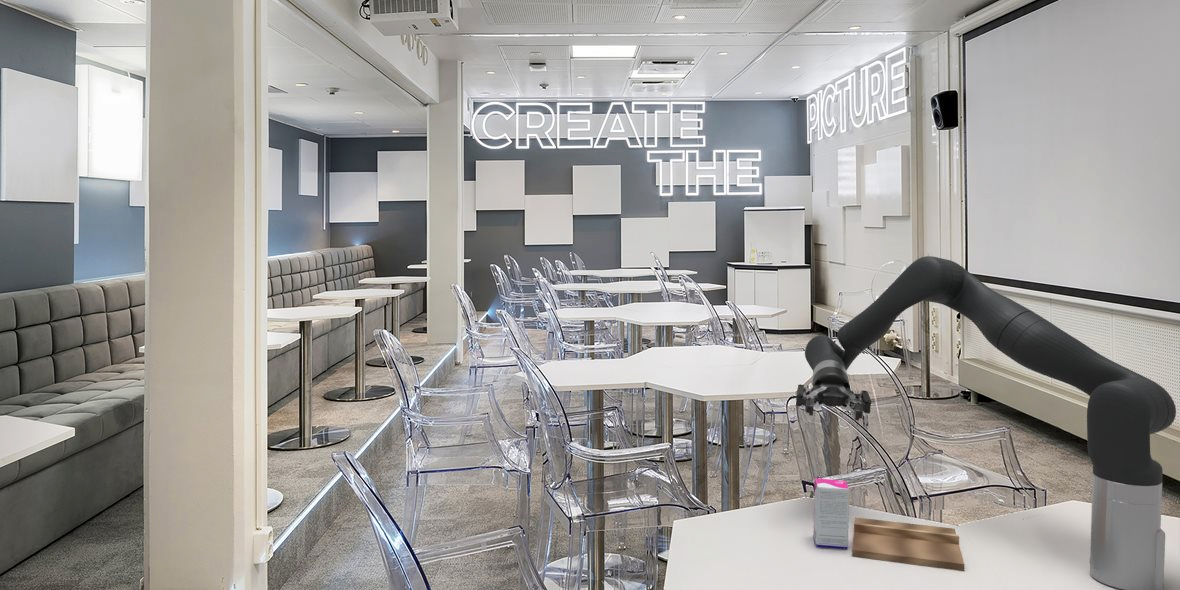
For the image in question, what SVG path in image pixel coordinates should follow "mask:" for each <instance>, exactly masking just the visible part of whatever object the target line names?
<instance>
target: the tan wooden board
mask: <svg viewBox="0 0 1180 590" xmlns="http://www.w3.org/2000/svg"><path fill="white" fill-rule="evenodd" d="M852 539H853V540H852V551H851V553H852V554H851V557H856V558H862V559H871V560H878V561H879V560H880V561H884V562H885V561H886V562H894V563H899V564H900V563H902V564H907V565H917V566H924V567H930V568H939V569H947V570H954V571H962V572H965V561H964V558H963V553H962V551H961V546H960V534H957V533H956V528H952V527H942V526H934V525H925V524H917V523H909V522H901V521H900V522H899V521H891V520H890V521H889V520H882V519H874V518H864V517H854V523H853V538H852Z"/></svg>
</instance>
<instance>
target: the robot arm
mask: <svg viewBox="0 0 1180 590" xmlns="http://www.w3.org/2000/svg"><path fill="white" fill-rule="evenodd" d="M923 301H925V302H928V303H929V302H930V303H934V304H940V305H942V306H945V307H948V308H950V309H952V310H954V311H956V312H957V313H959V314H960V315H962V316H964V317H966V318H967V319H968V320H969V321H971V322H972V323H973V324H974V325H975V326H976V327H977V329H978V330H979V331H980V333H981V334H982V335H983V337H984V338H985V339H986V340H987V341H988V343H990V344H991V345H992V346H993V347H994V348H996V349H997V350H998V351H1000V352H1001V353H1002V354H1004V355H1005V356H1007V357H1008V358H1010V359H1011V360H1012V361H1014V362H1015V363H1016V364H1019V365H1020V366H1022V367H1024V368H1026V369H1028V370H1030V371H1033V372H1035V373H1038V374H1040V375H1043V376H1046V377H1048V378H1051V379H1053V380H1056V381H1059V382H1062V383H1065V384H1067V385H1070V386H1071V387H1074V388H1076V389H1077V390H1080V392H1083V393H1084V394H1085V395H1088V396H1089V398H1088V403H1087V407H1086V435H1087V437H1086V438H1087V439H1086V440H1087V443H1086V444H1087V453H1088V456H1089V459H1090V460H1091V461H1090V462H1091V464H1092V483H1091V484H1092V487H1091V492H1092V493H1091V516H1090V517H1091V520H1090V522H1091V523H1090V545H1089V546H1090V548H1089V549H1090V550H1089V551H1090V553H1089V575H1090V576H1091V577H1092V578H1093V579H1094V580H1096V581H1098V582H1099V583H1102V584H1104V585H1107V586H1109V587H1113V588H1116V589H1120V590H1164V585H1165V584H1164V582H1165V581H1164V580H1165V579H1164V578H1165V561H1166V560H1165V557H1166V556H1165V555H1166V554H1165V553H1166V533H1165V531H1164V530H1163V529H1162V528H1161V526H1162V524H1161V523H1162V504H1163V503H1162V499H1163V496H1162V495H1163V475H1164V474H1163V473H1164V471H1163V467H1162V464H1160V462H1158V461H1157V460H1156V459H1155V460H1154V459H1153V458H1152V455H1151V435H1152V434H1156V433H1159V432H1162V431H1163V430H1166V429H1167V428H1169V427H1170V426H1171V425H1172V424H1173V423H1174V421H1175V419H1176V415H1177V409H1176V404H1175V401H1174V399H1173V398H1172V396H1171V394H1170V393H1169V392H1168V391H1167V390H1166V389H1165V388H1164V387H1163V386H1162V385H1160V384H1158V382H1155V381H1154V380H1151V378H1148V377H1145V376H1143V375H1142V374H1140V373H1138V372H1136V371H1133V370H1131V369H1129V368H1127V367H1125V366H1123V365H1121V364H1119V363H1117V362H1115V361H1113V360H1111V359H1109V358H1108V357H1105V356H1104V355H1102V354H1100V353H1099V352H1097V351H1095V350H1094V349H1093V348H1091V347H1090V346H1088V345H1087V344H1085V343H1083V342H1082V341H1080V340H1079V339H1077V338H1076V337H1074V336H1072V335H1071V334H1069V333H1068V332H1066V331H1065V330H1063V329H1061V327H1058V326H1056V325H1055V324H1054V323H1052V322H1050V321H1049V320H1047V319H1046V318H1044V317H1043V316H1041V315H1039V314H1038V313H1036V312H1034V311H1033V310H1031V309H1029V308H1027V307H1026V306H1024V305H1022V304H1020V303H1018V302H1016V301H1015V300H1013V299H1012V298H1009V297H1007V296H1005V295H1003V294H1001V293H999V292H997V291H995V290H994V289H992V288H990V287H989V286H988V285H986V284H985V283H983V282H982V281H981V280H979V278H977V277H976V276H974V274H972V273H971V272H969V270H967V269H966V268H965V267H963V266H962V265H960V264H959V263H957V262H955V261H953V260H950V259H947V258H941V257H938V256H929V255H928V256H927V255H926V256H922V257H920V258H917V259H915V260H914V261H913V262H912V263H911V264H910V265H909V266H907V268H905V269H904V270H903V271H902V273H900V275H899V276H898V277H897V278H896V279H895V280H894V281H893V282H892V283H891V284H890V285H889V286H888V287H887V288H886V289H885V291H883V293H881V294H880V295H879V296H878V298H876V299H875V300H874V301H873V302H872V303H870V305H869V306H867V307H866V308H865V309H863V311H861V312H860V313H858V314H856V316H854V317H853V318H852V319H850V320H849V321H847V322H846V323H845V324H843V326H841V327H840V328H839V329H838V331H837V333H836V337H837V340H838V343H839V344H840V345H841V346H839V344H837V343H836V342H834V340H833V339H832V338H830V337H829V336H827V335H823V334H819V335H816V336H814V337H812V338H811V339H810V340H809V341H808V343H807V344H806V346H805V349H804V358H805V360H806V361H807V363H808V365H809V367H810V369H811V370H812V378H811V379H812V380H811V386H812V387H811V389H810V388H807V387H805V385H804V384H802V383H801V384H798V385H797V391H796V400H795V406H797V407H803V406H804V407H805V408H804V409H805V413H806V414H808V415H809V416H814V408H816V409H818V408H820V407H822V406H824V407H829V408H830V407H832V408H833V407H836V408H837V407H838V408H842V409H843V410H845V411H846V412H853V417H854V421H857V422H858V421H860V419H863V414H864V413H865V414H869V415H870V414H871V409H872V408H871V407H872V400H871V397H870V395H869V392H868V391H867V390H861V392H860V393H854V391H853V390H851V385H850V378H849V374H848V372H847V370H849V367H850V366H851V365H852V364H853V362H854V361H855V360H856V359H857V357H858V356H859V355H861V353H862V352H863V351H864V350H866V349H868V348H869V347H870V346H872V345H873V344H875V343H876V342H877V341H880V339H882V337H884V336H885V335H886V334H887V333H888V332H889V331H890V329H891V328H892V325H893V324H894V322H895V321H896V319H897V318H898V317H899V316H900V315H901V314H902V313H903V312H904V311H906V310H907V309H909V308H911V307H913V306H915V305H917V304H919V303H921V302H923Z"/></svg>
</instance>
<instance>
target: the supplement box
mask: <svg viewBox="0 0 1180 590" xmlns="http://www.w3.org/2000/svg"><path fill="white" fill-rule="evenodd" d="M813 500H814V502H813V534H812V537H813V541H814V545H815V547H816V548H817V549H830V550H845V551H847V550H848V549H849V528H850V527H849V526H850V525H849V524H850V523H849V522H850V521H849V520H850V487H849V486H848V483H847V482H846V480H843V479H831V478H830V479H829V478H828V479H827V478H814V499H813Z"/></svg>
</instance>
